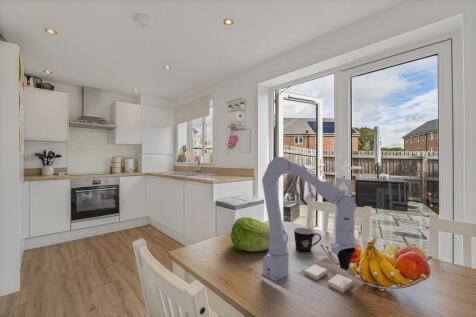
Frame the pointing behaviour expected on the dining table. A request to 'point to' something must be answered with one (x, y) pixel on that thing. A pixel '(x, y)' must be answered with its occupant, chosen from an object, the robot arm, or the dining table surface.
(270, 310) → the dining table surface
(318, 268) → the tile
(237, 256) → the dining table surface
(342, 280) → the tile
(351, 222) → the robot arm
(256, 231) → the lettuce
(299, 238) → the coffee mug
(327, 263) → the board
